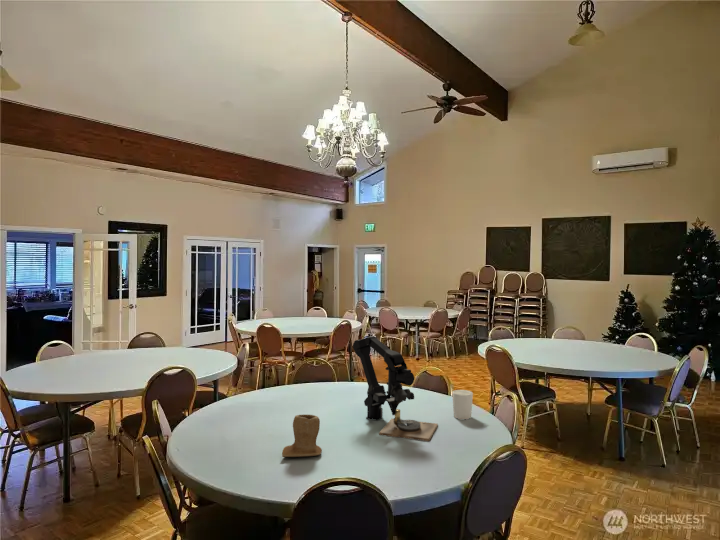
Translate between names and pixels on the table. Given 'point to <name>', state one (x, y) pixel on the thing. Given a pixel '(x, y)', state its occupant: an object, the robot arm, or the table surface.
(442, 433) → the table surface
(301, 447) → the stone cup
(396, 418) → the dial
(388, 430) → the base plate
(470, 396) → the candle holder
